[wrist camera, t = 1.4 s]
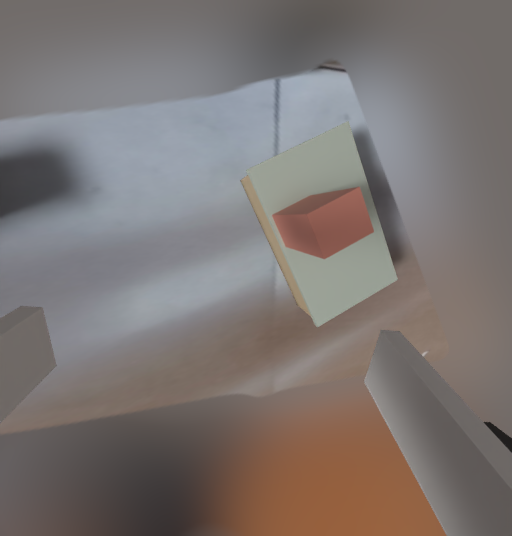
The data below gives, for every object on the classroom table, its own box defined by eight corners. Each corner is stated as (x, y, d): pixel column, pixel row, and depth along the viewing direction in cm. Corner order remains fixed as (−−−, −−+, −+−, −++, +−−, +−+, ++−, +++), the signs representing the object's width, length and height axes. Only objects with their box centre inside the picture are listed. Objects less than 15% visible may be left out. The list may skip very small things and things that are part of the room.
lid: (246, 170, 27) (274, 147, 18) (344, 123, 29) (416, 79, 20) (315, 324, 33) (362, 366, 24) (393, 278, 35) (466, 300, 26)
